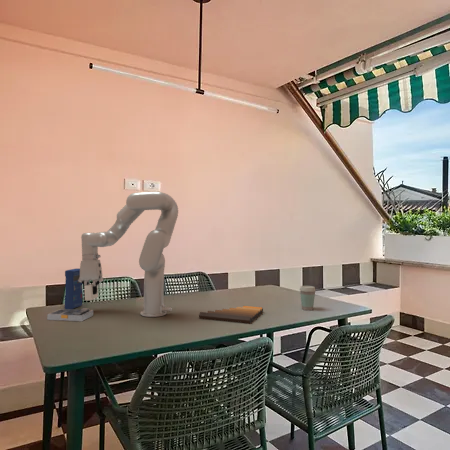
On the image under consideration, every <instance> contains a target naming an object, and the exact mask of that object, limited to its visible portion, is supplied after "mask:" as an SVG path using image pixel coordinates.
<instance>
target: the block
mask: <svg viewBox="0 0 450 450" xmlns="http://www.w3.org/2000/svg"><path fill="white" fill-rule="evenodd" d="M83 287H84V301H92V300H95V299H97V298H99V288H98V287H99V285H98V286H97V294H94V295H93V283H89V285H86V286H84V285H83Z"/></svg>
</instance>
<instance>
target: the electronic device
mask: <svg viewBox="0 0 450 450" xmlns="http://www.w3.org/2000/svg"><path fill="white" fill-rule="evenodd" d="M64 277H65V286H64V287H65V292H64V293H65V295H64V309H76V308H78V307H81V306H83V284H82V283H81V282H79V281H78V280H79V277H80V268H72V269H71V268H70V269H67V270H65V271H64Z"/></svg>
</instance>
